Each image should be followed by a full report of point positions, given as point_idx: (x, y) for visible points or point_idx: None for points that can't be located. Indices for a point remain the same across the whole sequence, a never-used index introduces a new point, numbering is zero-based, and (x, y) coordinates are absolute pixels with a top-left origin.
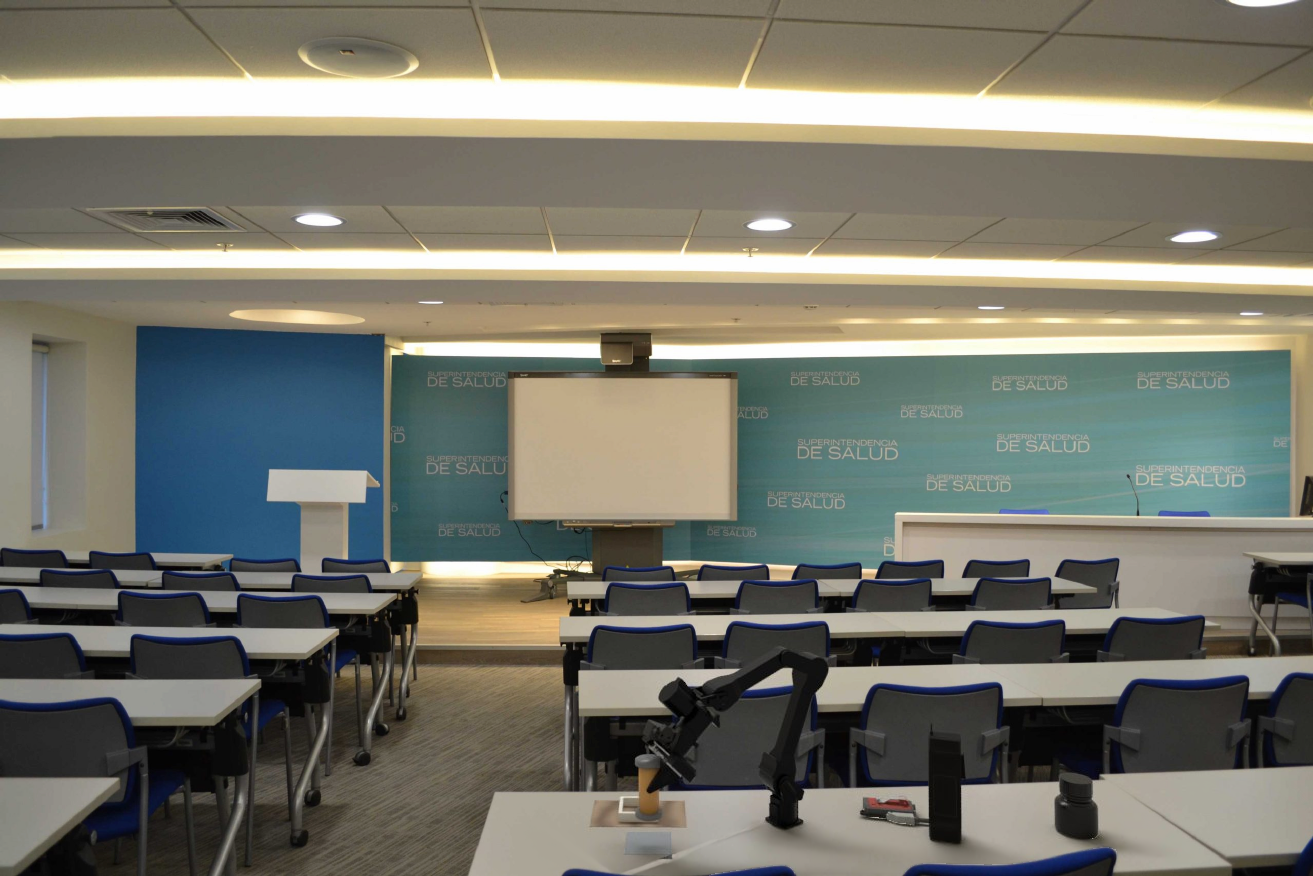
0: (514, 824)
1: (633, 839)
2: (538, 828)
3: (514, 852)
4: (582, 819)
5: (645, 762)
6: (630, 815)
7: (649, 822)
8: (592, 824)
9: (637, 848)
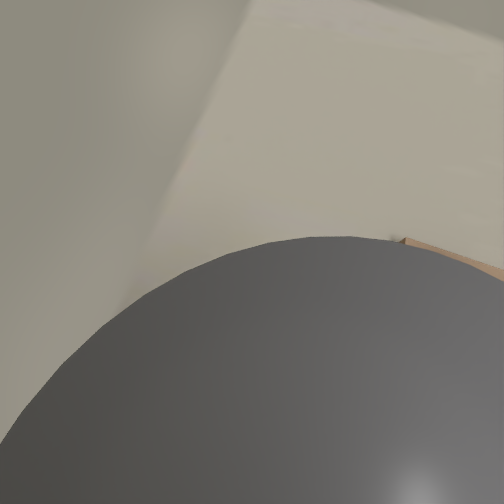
0: (469, 67)
1: None
2: (438, 114)
3: (311, 35)
4: (486, 243)
5: (169, 454)
6: None
7: None
8: None
9: None
